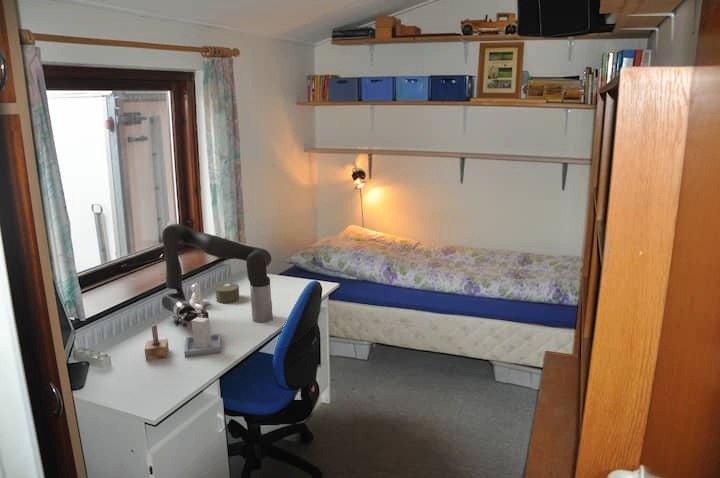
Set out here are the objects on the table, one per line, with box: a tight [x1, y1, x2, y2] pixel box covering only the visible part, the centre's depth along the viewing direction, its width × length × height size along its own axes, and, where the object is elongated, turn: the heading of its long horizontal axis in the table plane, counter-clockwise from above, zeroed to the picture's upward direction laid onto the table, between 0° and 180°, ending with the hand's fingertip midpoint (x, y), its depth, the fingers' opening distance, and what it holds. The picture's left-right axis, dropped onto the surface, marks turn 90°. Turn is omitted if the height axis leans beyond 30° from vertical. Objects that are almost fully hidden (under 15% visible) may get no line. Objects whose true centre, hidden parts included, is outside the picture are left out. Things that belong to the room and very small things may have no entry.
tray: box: [184, 333, 222, 358], centre depth 234 cm, size 14×14×2 cm
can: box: [214, 282, 240, 305], centre depth 289 cm, size 12×12×7 cm
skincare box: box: [191, 316, 212, 348], centre depth 233 cm, size 6×4×12 cm
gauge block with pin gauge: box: [144, 324, 170, 362], centre depth 227 cm, size 8×8×13 cm
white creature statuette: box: [189, 283, 210, 311], centre depth 279 cm, size 10×9×12 cm
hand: (196, 322), depth 239 cm, fingers open, 8 cm apart
